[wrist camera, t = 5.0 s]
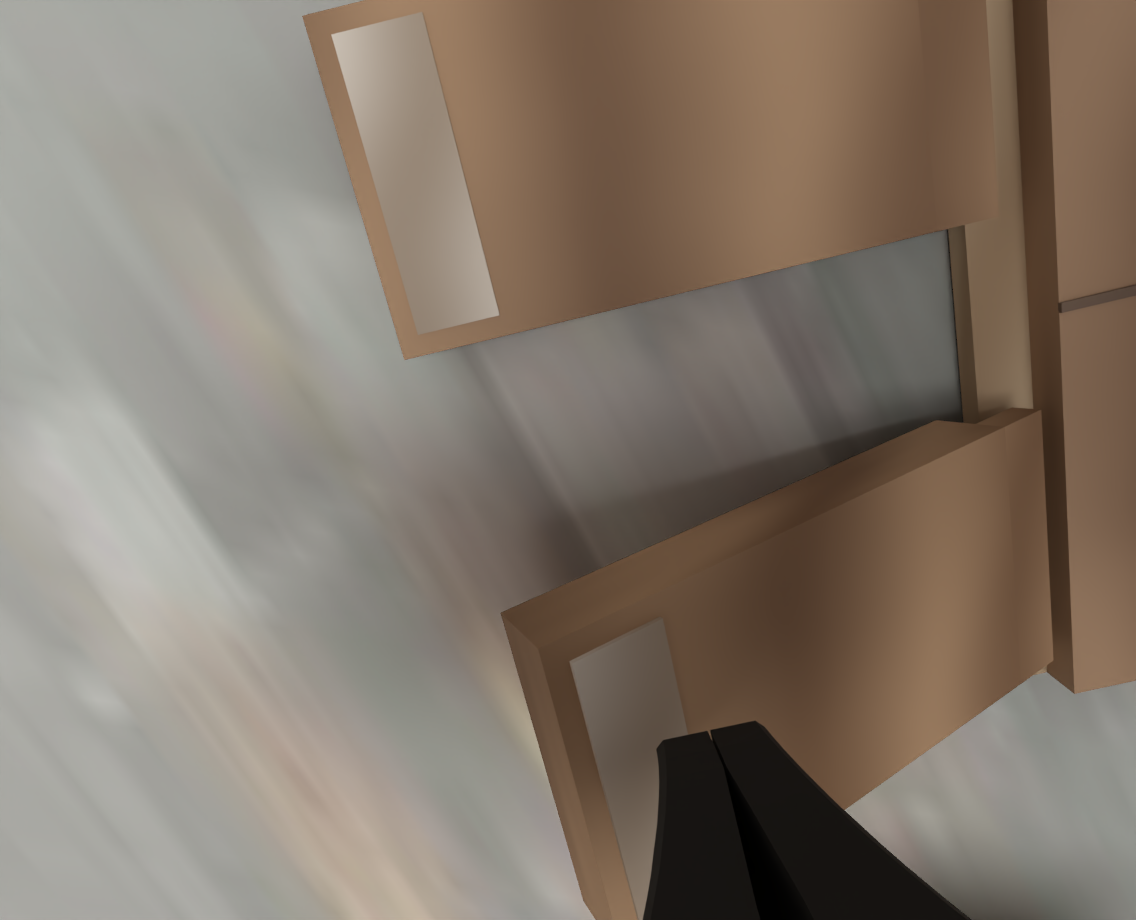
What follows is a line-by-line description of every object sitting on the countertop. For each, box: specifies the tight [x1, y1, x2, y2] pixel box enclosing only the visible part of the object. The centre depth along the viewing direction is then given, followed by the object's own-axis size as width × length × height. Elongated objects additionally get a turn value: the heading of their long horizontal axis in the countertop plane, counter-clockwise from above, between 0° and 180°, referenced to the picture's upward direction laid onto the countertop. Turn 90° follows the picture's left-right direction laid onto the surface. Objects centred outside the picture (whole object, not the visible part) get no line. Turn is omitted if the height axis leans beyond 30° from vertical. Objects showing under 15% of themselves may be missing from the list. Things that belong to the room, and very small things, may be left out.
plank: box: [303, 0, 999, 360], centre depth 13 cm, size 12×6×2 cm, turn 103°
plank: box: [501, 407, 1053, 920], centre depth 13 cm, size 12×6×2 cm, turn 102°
